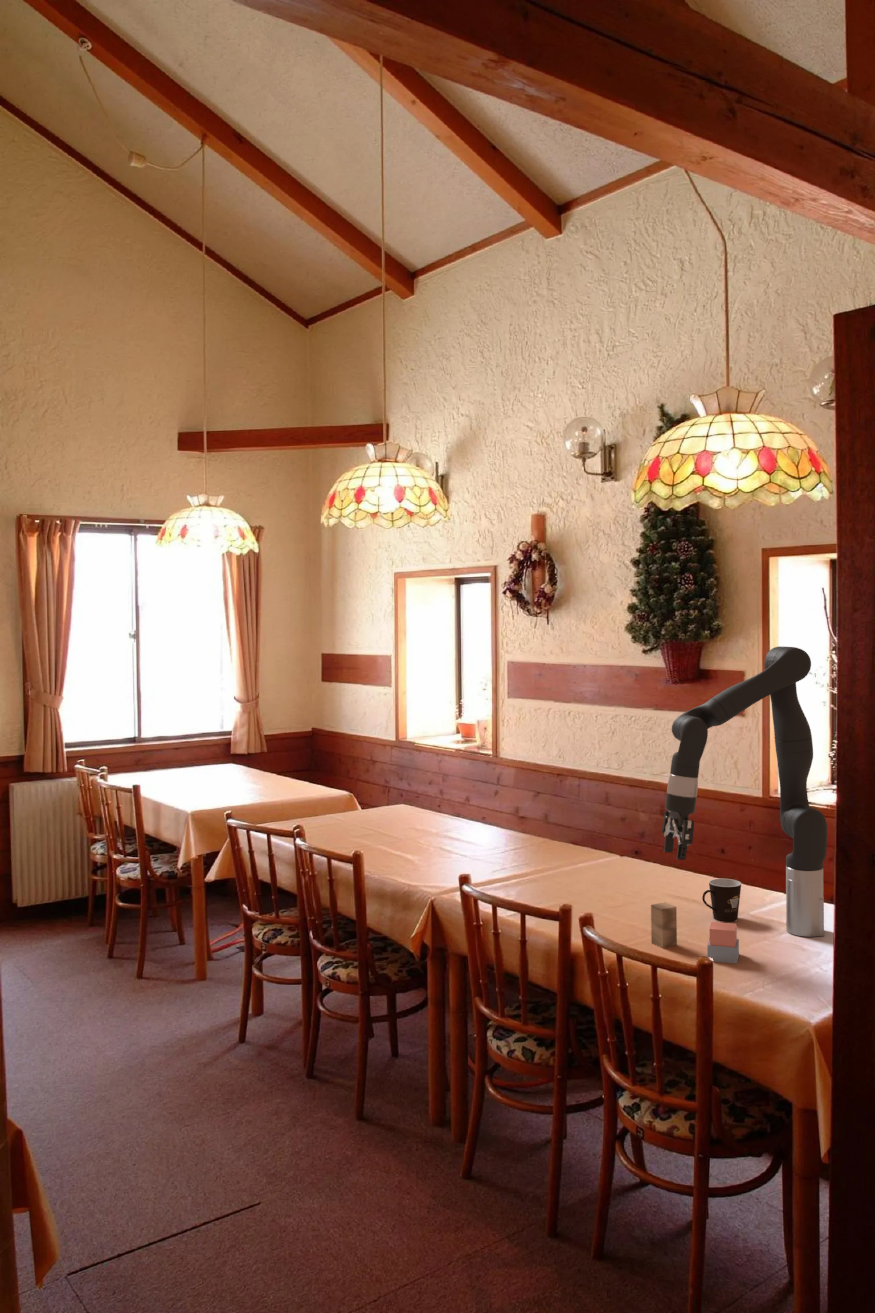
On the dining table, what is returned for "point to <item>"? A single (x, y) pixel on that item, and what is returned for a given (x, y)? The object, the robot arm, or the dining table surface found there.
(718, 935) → the tower brick
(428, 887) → the dining table surface
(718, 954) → the tower bottom brick
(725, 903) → the coffee mug
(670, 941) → the pillar brick
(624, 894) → the dining table surface
